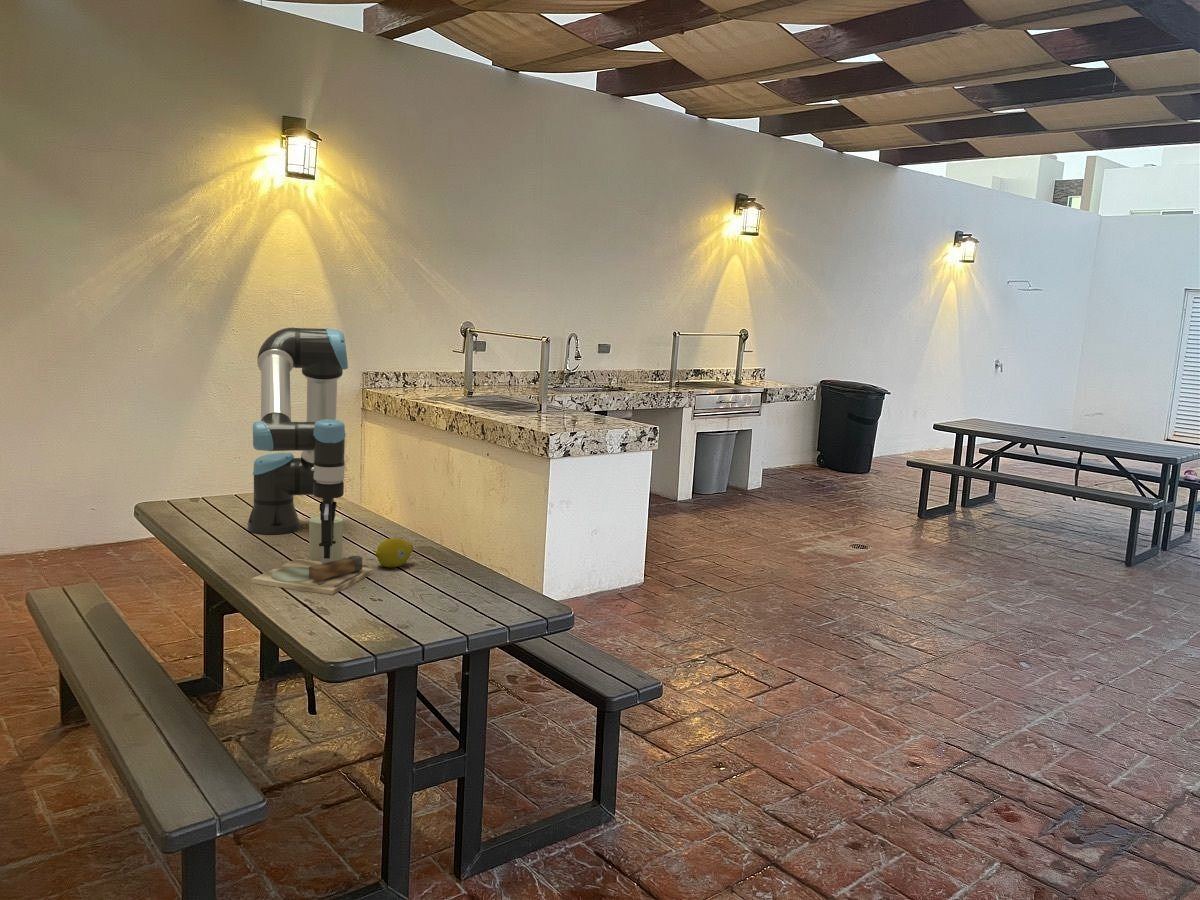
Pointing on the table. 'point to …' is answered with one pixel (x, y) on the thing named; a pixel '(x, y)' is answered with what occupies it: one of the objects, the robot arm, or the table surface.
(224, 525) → the table surface
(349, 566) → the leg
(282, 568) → the board
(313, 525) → the can
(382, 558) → the lemon
